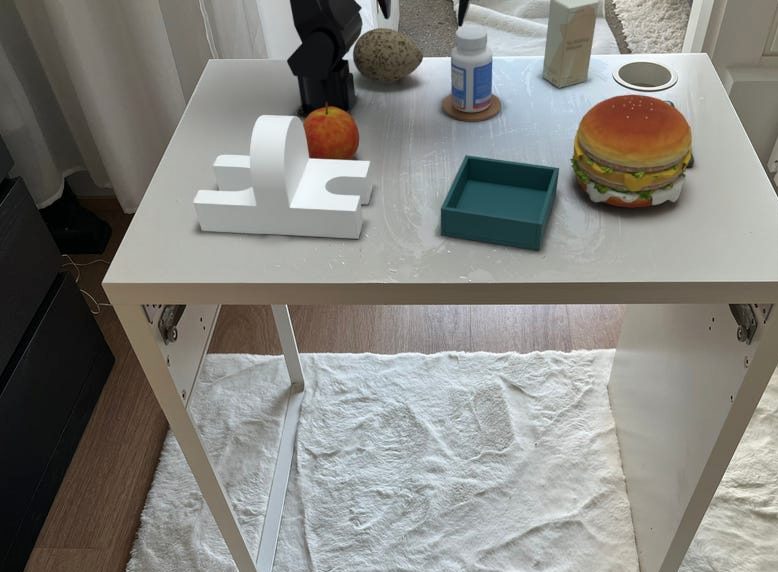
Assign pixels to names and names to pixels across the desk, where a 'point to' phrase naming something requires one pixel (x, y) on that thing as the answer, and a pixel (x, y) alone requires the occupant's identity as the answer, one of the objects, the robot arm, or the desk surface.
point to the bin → (500, 202)
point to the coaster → (467, 116)
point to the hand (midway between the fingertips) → (423, 21)
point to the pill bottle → (471, 70)
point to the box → (569, 41)
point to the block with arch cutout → (285, 187)
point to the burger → (632, 151)
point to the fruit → (331, 134)
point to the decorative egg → (386, 55)
